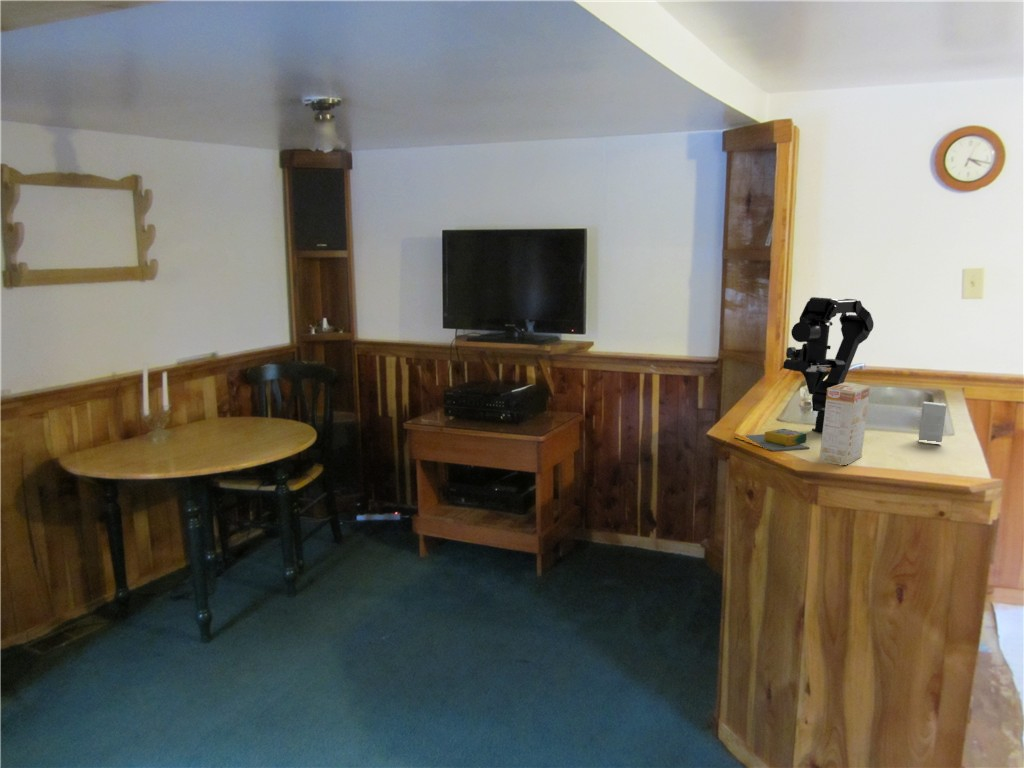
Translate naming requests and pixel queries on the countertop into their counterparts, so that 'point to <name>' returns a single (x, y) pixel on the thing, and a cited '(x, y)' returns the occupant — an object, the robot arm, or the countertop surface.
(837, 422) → the coffeecake box
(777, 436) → the crayon box
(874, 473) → the countertop surface
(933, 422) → the skincare box
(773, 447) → the mat
